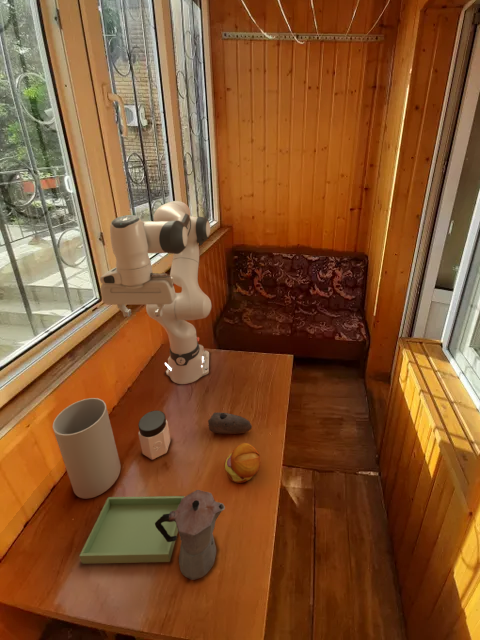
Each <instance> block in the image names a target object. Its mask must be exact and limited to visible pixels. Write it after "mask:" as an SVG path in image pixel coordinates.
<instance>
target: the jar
mask: <svg viewBox="0 0 480 640" xmlns="http://www.w3.org/2000/svg"><path fill="white" fill-rule="evenodd" d="M137 425H138V433H137V434H138V440H139V444H140V449H141V454H142V455H143V456H145V457H147V458H148V459H150V460H152V461H153V460H155V459H156V458H159V457H161V456H163V455H165V454H167V453H168V450H169V447H170V444H171V441H172V440H171V434H170V428H169V422H168V419H167V418H166V414H165V412H163V411H162V410H151V411H148V412H146V413H145V414H144V415H142V417H141V418H140V419H139V420H138V424H137Z"/></svg>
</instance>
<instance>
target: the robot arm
mask: <svg viewBox="0 0 480 640" xmlns="http://www.w3.org/2000/svg"><path fill="white" fill-rule="evenodd" d="M211 229H212V228H211V224H210V221H209V220H208V218H206V217H204V216H192V215H191V209H190V207H189V206H188V204H186V203H185V202H183V201H181V200H173V201H169V202H166V203H164V204H162V205H160V206H158V208H157V209H156V210H155V211H154V214H153V221H152V220H151V221H149V220H142V219H141V217H139V216H138V215H136V214H135V215H134V214H127V215H121V216H118V217H115V218H114V219H113V220H111V222H110V225H109V236H110V244H111V249H112V253H113V256H114V257H115V259H116V260H115V267H113V268H111V269H109V270H108V271H106V272H104V273H103V274H102V275H101V276H100V278H99V281H100V283H101V286H100V293H101V294H100V295H101V300H102V302H103V303H104V304H105V305H108V306H113V305H116V306H117V308H118V309H119V311H121V313H122V315H123V317H124V318H130V317H131V316H132V309H131V308H128V307H127V306H128V305H131V306H132V305H134V306H135V305H136V306H137V305H145V310H146V314H147V316H148V317H149V318H150V319H153V320H154V321H156V322H157V323H158V324H159V325H160V326H161V327H162V328H163V329H164V331H165V332H166V334H167V337H168V341H169V342H168V343H169V356H168V357H167V362H164V365H165V366H166V367H167V369H166V370H165V375H166V376H168V377H169V378H170V380H171V381H172V382H173V383H175V384H178V385H187V384H191V383H194V382H196V381H198V380H199V379H200V378H202V377H204V376H206V375H208V374H209V373H210V352H209V351H208V350H205V347H204V346H203V344H199V342H200V337H199V336H197V329H196V327H195V325H194V324H192V323H190V322H188V321H196V320H202V319H206V318H207V317H208V316H209V315H210V313H211V310H212V301H211V298H210V297H209V296H208V295H207V294H206V293H205V292H204V291H203V290H202V289H201V287H200V285H199V280H198V279H199V277H198V276H199V265H200V246H202V245H203V244H204V243H205V242H206V241H207V240H208V239H209V238H210V234H211V232H212V231H211ZM149 254H172V255H173V256H172V260H171V267H170V272H169V274H168V273H166V272H163V273H162V272H161V273H155V272H154V273H153V267H152V262H151V261H152V260H151V258H150V257H149ZM174 285H176V286H177V287H179V288H181V292H176V290H175V286H174ZM126 305H127V306H126Z"/></svg>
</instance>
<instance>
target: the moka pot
mask: <svg viewBox="0 0 480 640" xmlns="http://www.w3.org/2000/svg"><path fill="white" fill-rule="evenodd" d="M225 509H226V505H224V503H223V502H219V501H216V500H215V499H214V495H213V494H212V492H209V491H204V490H201V489H196V490H194V491H193V492H191V493H189V494H187V495H186V496H185V495H184V498H182V500H181V502H180V504H179V506H178V508H177V510H176V511H171V512H170V514H163V516H162V517H160V519H158V521H156V522H155V526H156V528H157V529H158V531H160V533H161V534H162V535H163V537H164V538H165V539H166V541H167V542H172V541H175V542H176V541H177V539H178V535H179V539H180V547H179V548H180V549H179V555H178V565H179V566H178V567H179V569H180V572H181V574H182V576H184V577H185V578H187V579H188V580H191V581H194V580H199V579H201V578H203V577H205V576H206V575H208V573H209V571H211V569H212V568H213V566H214V564H215V562H216V557H217V546H216V545H217V544H216V542H215V537H214V530H215V527H216V521H217V520H218V518H219V516H220V515H221V514H222V512H223V511H224V510H225ZM173 521H175V522H176V526H177V528H178V535H177V536H170V535H169V534H168V533H167V531H166V530H165V528H164V526H163V525H162V524H161V523H163V522H173Z"/></svg>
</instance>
